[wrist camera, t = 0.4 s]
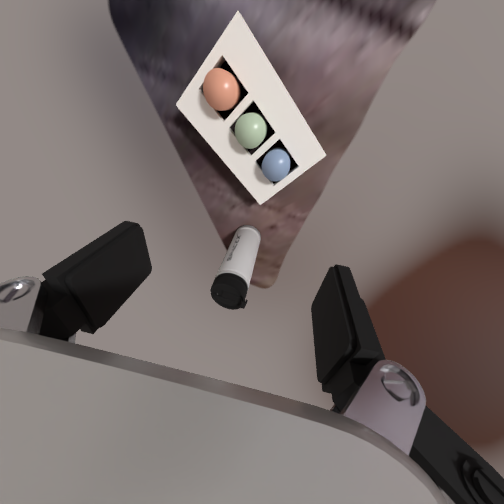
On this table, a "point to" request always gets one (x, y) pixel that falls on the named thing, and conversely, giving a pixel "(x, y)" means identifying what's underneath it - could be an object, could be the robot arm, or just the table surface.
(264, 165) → the slate button
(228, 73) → the terracotta button
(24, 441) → the robot arm
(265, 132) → the sage button
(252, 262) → the travel mug
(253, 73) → the button box
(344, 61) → the table surface
